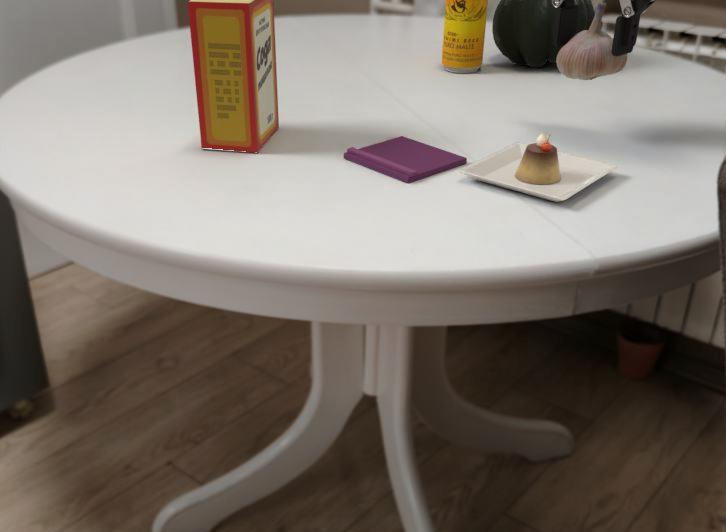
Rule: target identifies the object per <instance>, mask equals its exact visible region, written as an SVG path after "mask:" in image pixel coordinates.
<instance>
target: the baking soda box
mask: <svg viewBox="0 0 726 532" xmlns="http://www.w3.org/2000/svg"><path fill="white" fill-rule="evenodd" d="M274 2H275V1H274V0H188V1H187V11H188V20H189V21H188V22H189V30H190V41H191V51H192V62H193V73H194V81H195V82H194V83H195V93H196V103H197V115H198V123H199V124H198V126H199V135H200V144H201V146H200V147H201V149H202V148H212V149H223V150H234V151H246V152H258V151H259V150H260V149H261V148H262V149H263V147H264V146H265V145H266V144H267V143H268V141H269V140H270V139H271V138H272V137H273V135H274V134H275V133H276V132H277V131H278V129H280V123H279V120H280V119H279V98H278V97H279V95H278V76H277V75H278V74H277V51H276V49H277V48H276V29H275V27H276V26H275V5H274ZM276 130H277V131H276ZM275 131H276V132H275ZM271 136H272V137H271ZM270 137H271V138H270ZM269 138H270V139H269ZM268 139H269V140H268ZM267 140H268V141H267ZM266 142H267V143H266ZM265 143H266V144H265ZM264 144H265V145H264ZM263 145H264V146H263ZM262 146H263V147H262ZM262 149H261V150H262ZM261 150H260V151H261ZM260 151H259V152H260ZM259 152H258V153H259Z"/></svg>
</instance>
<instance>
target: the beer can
mask: <svg viewBox="0 0 726 532" xmlns="http://www.w3.org/2000/svg"><path fill="white" fill-rule="evenodd" d="M488 3H489V0H445V3H444V5H445V6H444V20H443V21H444V22H443V33H442V48H441V49H442V51H441V52H442V54H441V64H442V65H443V67H444V70H445V71H447V72H450V73H455V74H471V73H475V72H477V71H479V68H480V67H482V66H483V59H484V50H485V49H484V48H485V37H486V26H487V17H488V16H487V15H488V5H489V4H488Z"/></svg>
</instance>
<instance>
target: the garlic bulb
mask: <svg viewBox="0 0 726 532" xmlns="http://www.w3.org/2000/svg"><path fill="white" fill-rule="evenodd" d="M607 6H608V4H607V2H605V1H604V0H603V1H602V0H600V1H599V2H598V4H597V6H596V8H595V9H596V10H595V16H594V19H593V21H592V24H591V26H590V28H589V30H583V31H581V32H579V33H577V34H576V35H574V36H573V37H572V38H571V39H570V40H569V42H568V43H567V44H566V45H564V46H563V47H562V48H561V49H560V51H559V52H558V55H557V58H556V67H557V69H558V71H559V72H560V73H561V75H563V76H564V77H566V78H568V79H571V80H572V79H573V80H580V81H592V80H595V79H597V78H600V77H606V76H611V75H614V74H617V73H620V72H621V71H622V70H623V69H624V67H625V66H626V64H627V62H628V54H624V55H621V56H613V55H612V53H611V51H612V44H613V38H614V37H611V35H610V34H608V33H607V32H605V31H604V30H602V20H603V15H604V13H605V12H606V11H605V10H606V8H607Z"/></svg>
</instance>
